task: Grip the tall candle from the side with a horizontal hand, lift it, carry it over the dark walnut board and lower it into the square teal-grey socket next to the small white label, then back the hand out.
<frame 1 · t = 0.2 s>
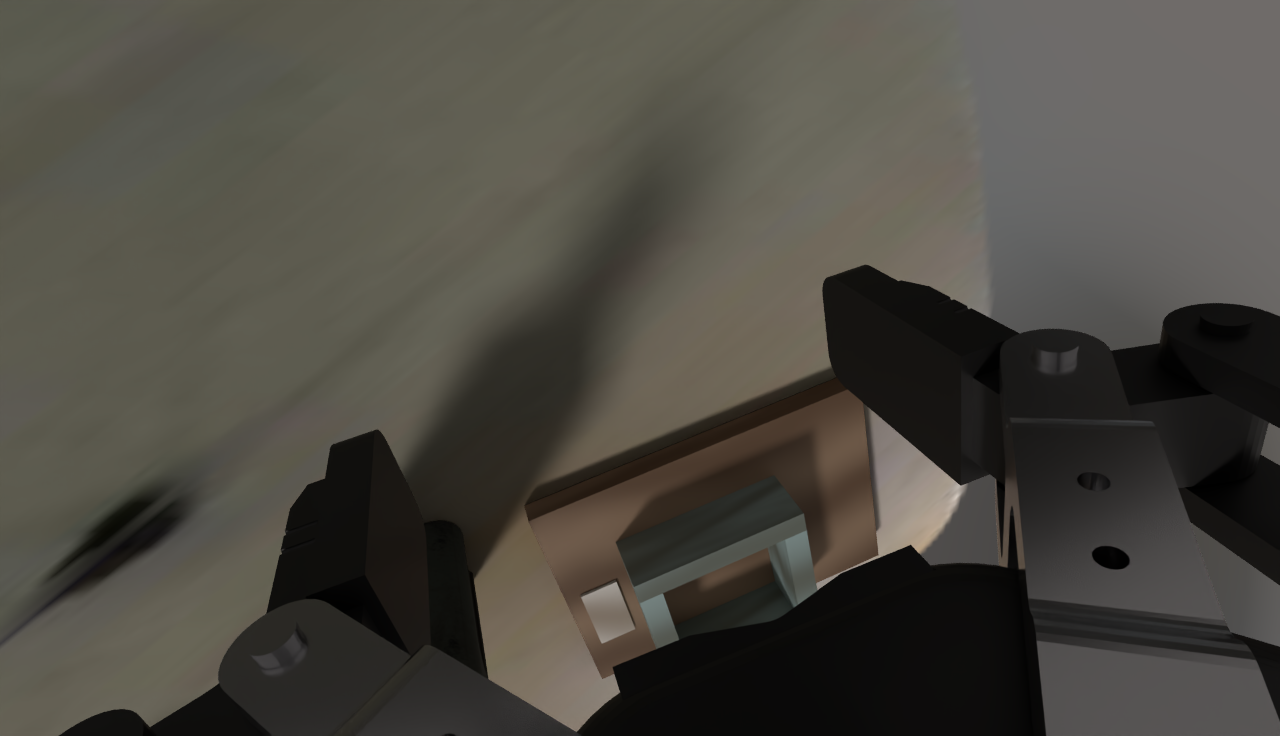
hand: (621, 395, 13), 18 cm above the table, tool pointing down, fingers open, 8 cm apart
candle: (415, 564, 35), on the table
socket board: (715, 525, 40), on the table
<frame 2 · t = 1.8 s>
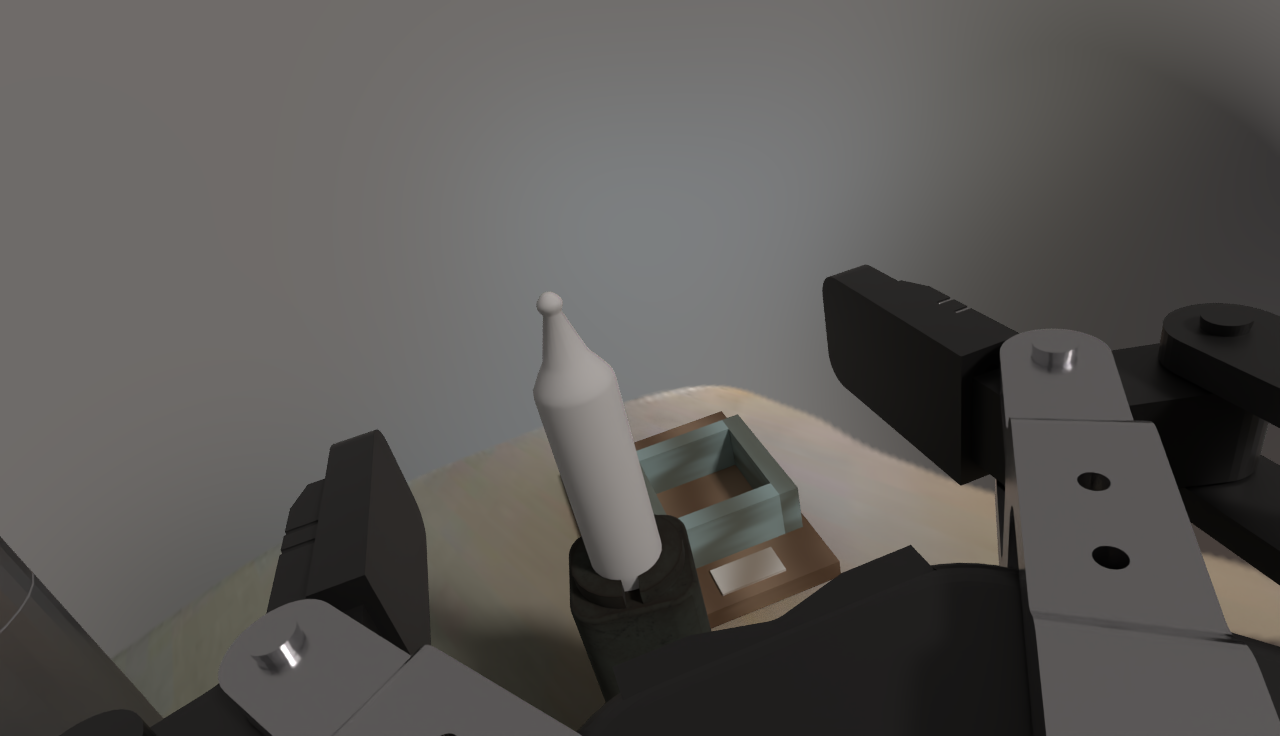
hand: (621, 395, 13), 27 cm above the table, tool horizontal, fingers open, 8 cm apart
socket board: (686, 520, 49), on the table
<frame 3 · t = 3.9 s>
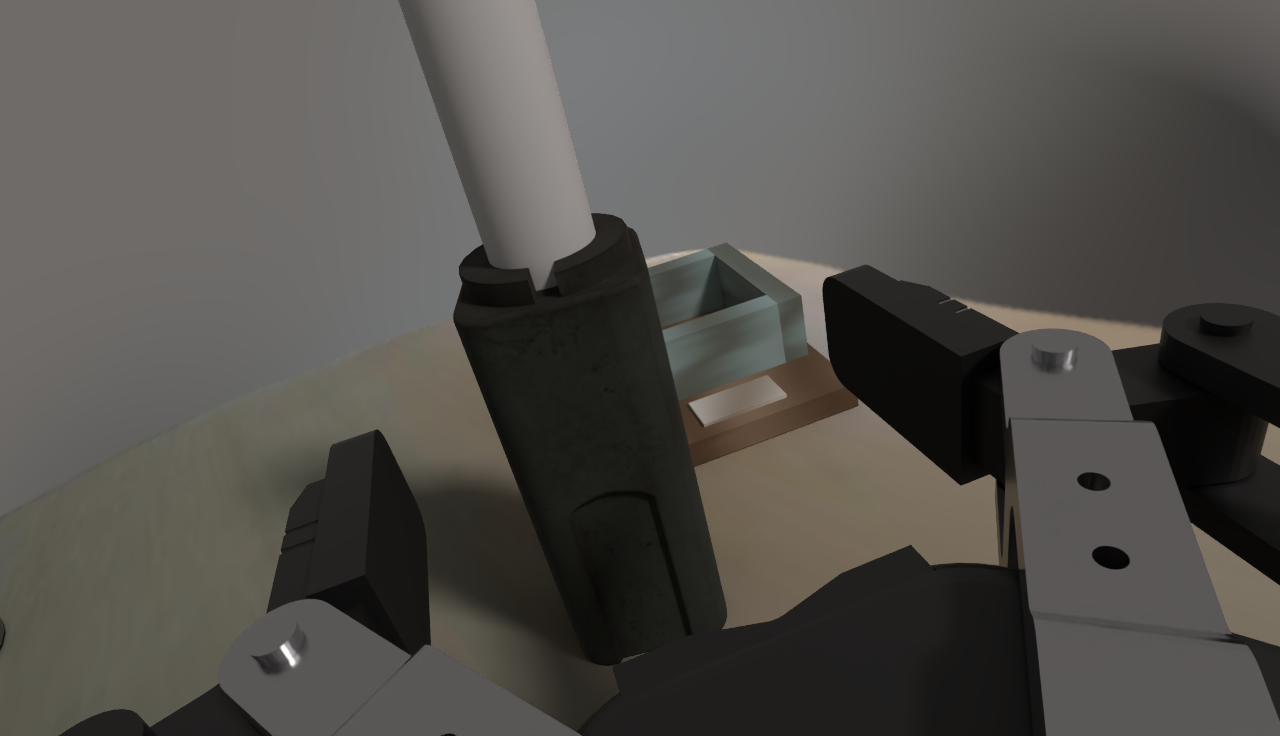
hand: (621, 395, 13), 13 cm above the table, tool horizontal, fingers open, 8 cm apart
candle: (650, 599, 26), on the table
socket board: (663, 367, 39), on the table
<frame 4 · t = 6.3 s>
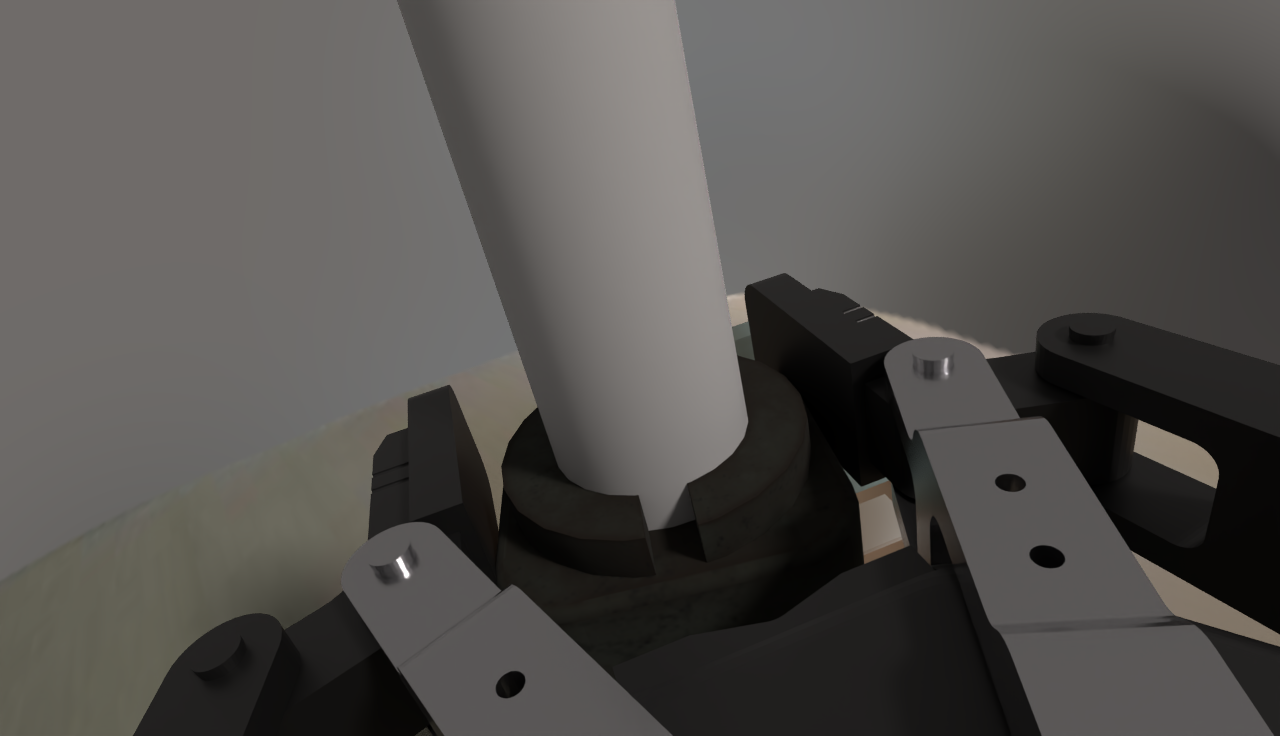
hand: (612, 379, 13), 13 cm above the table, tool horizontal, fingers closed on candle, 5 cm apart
socket board: (731, 463, 31), on the table
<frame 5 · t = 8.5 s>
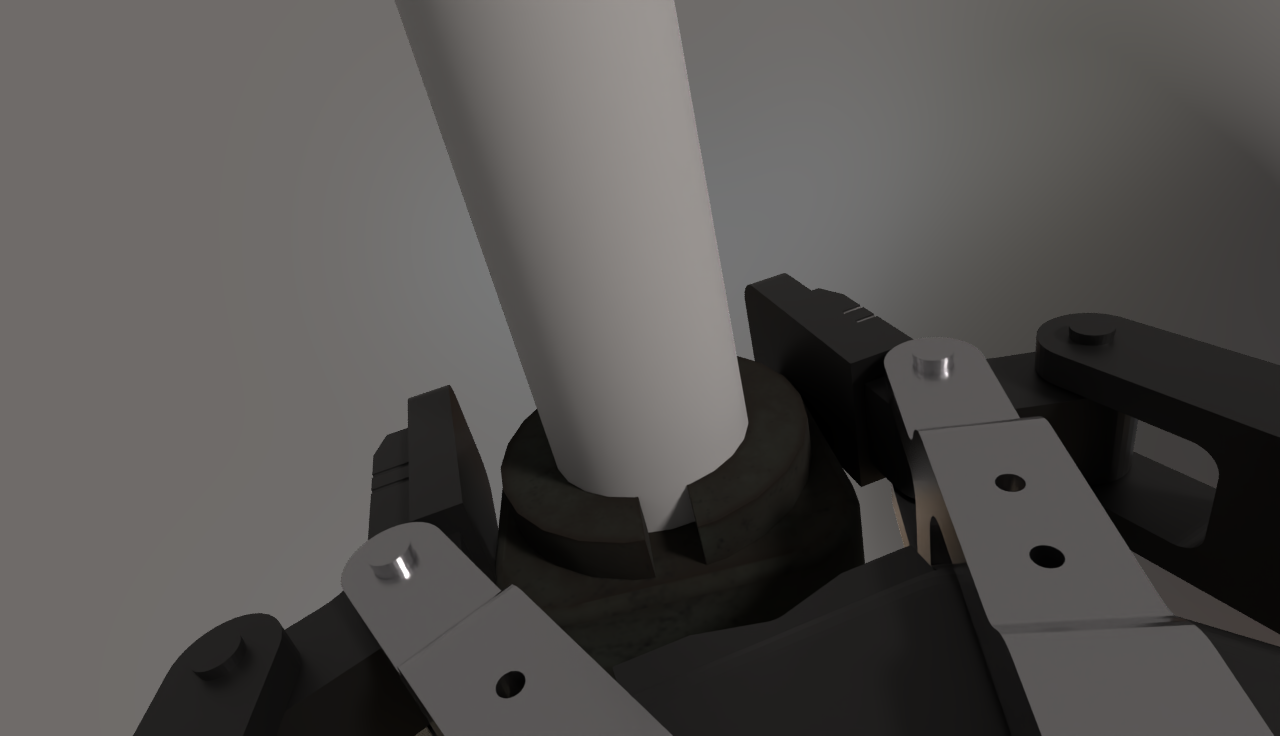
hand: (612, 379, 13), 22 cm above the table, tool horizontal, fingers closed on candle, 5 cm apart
when the fingers open (15 cm above the table, at t = 10.8 s): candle drops 1 cm, resting on socket board.
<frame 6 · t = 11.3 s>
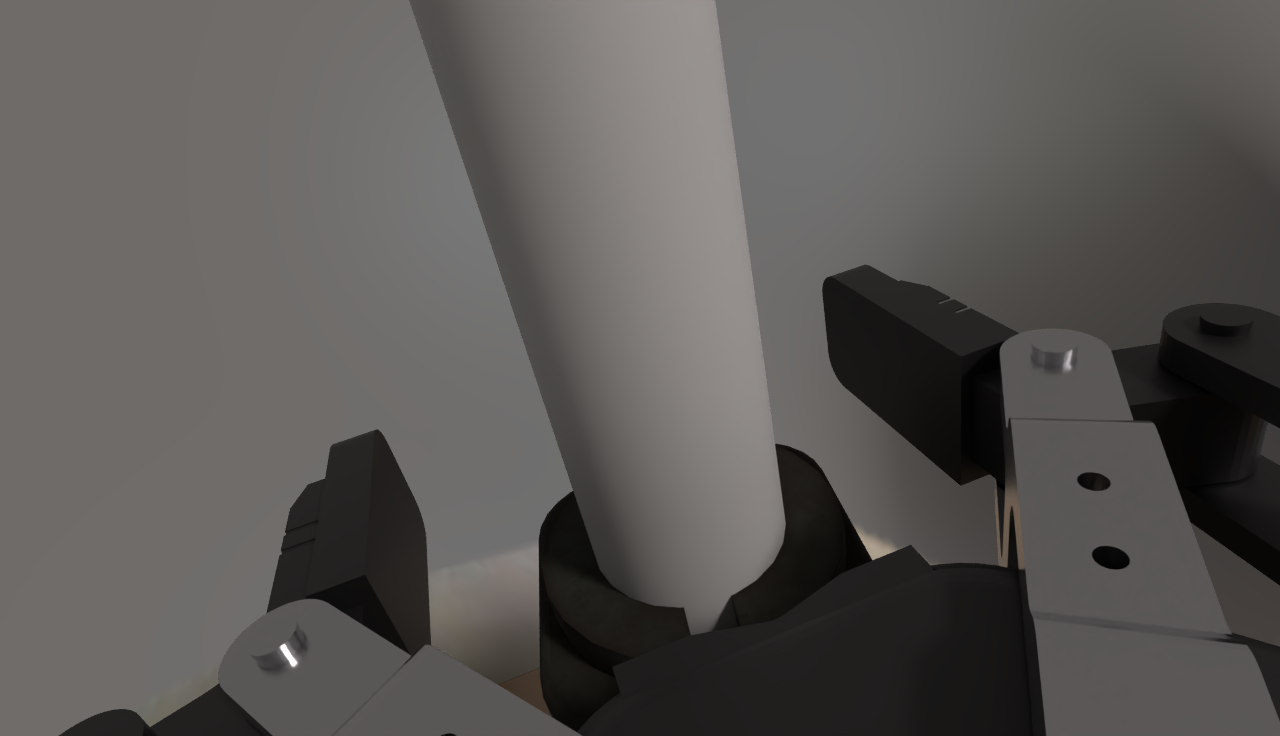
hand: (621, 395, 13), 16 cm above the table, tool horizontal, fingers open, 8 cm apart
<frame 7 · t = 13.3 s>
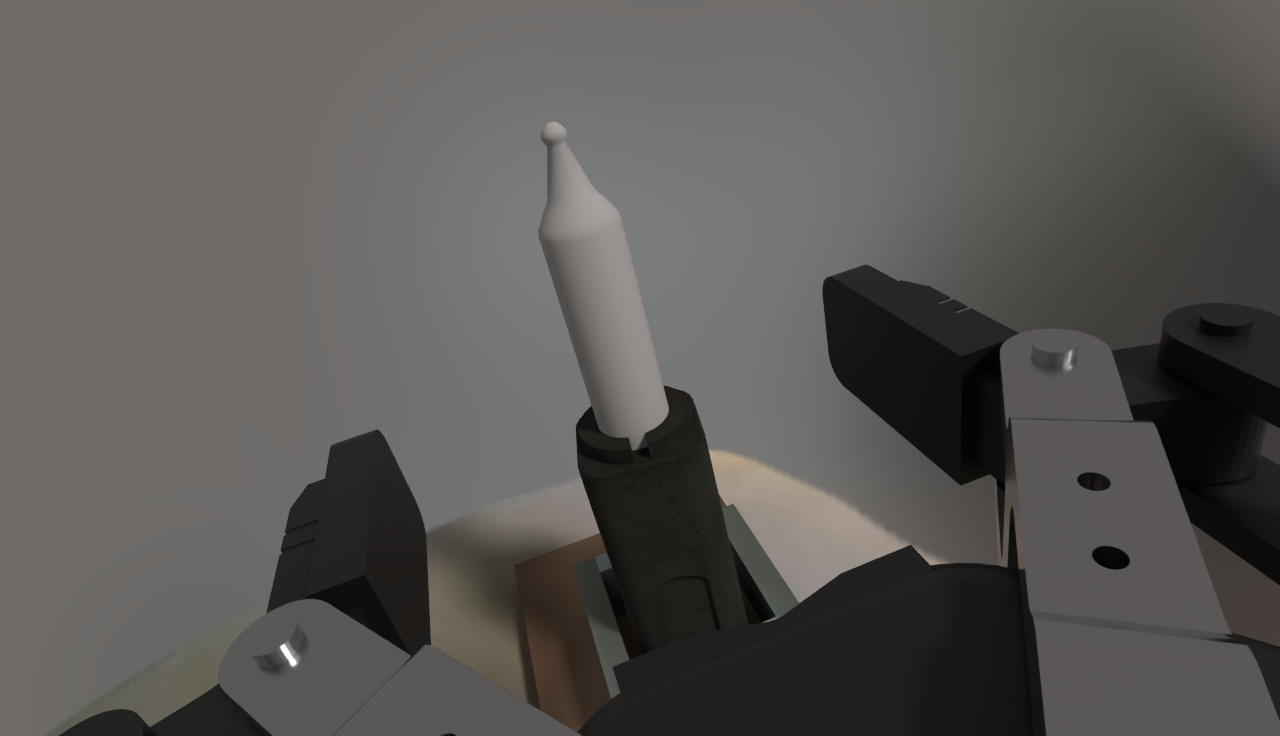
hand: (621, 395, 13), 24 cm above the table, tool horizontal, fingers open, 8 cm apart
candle: (697, 644, 35), point 1 cm above the table, touching socket board
socket board: (665, 651, 37), on the table
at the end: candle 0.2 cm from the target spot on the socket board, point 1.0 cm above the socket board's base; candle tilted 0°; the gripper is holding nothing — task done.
